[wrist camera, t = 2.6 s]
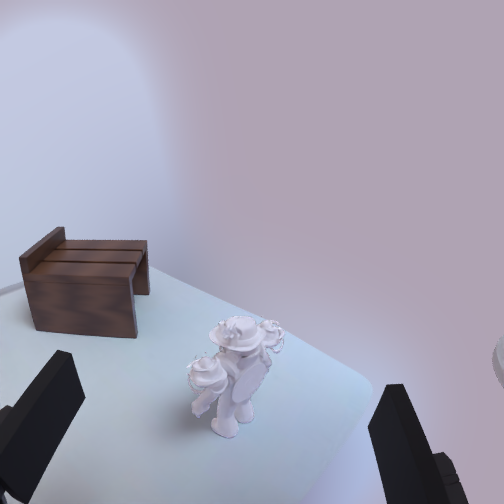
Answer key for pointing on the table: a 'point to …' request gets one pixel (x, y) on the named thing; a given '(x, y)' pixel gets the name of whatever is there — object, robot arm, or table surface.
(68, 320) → the rack
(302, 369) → the table surface
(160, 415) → the table surface
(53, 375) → the robot arm
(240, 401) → the hat wearing toy figure
